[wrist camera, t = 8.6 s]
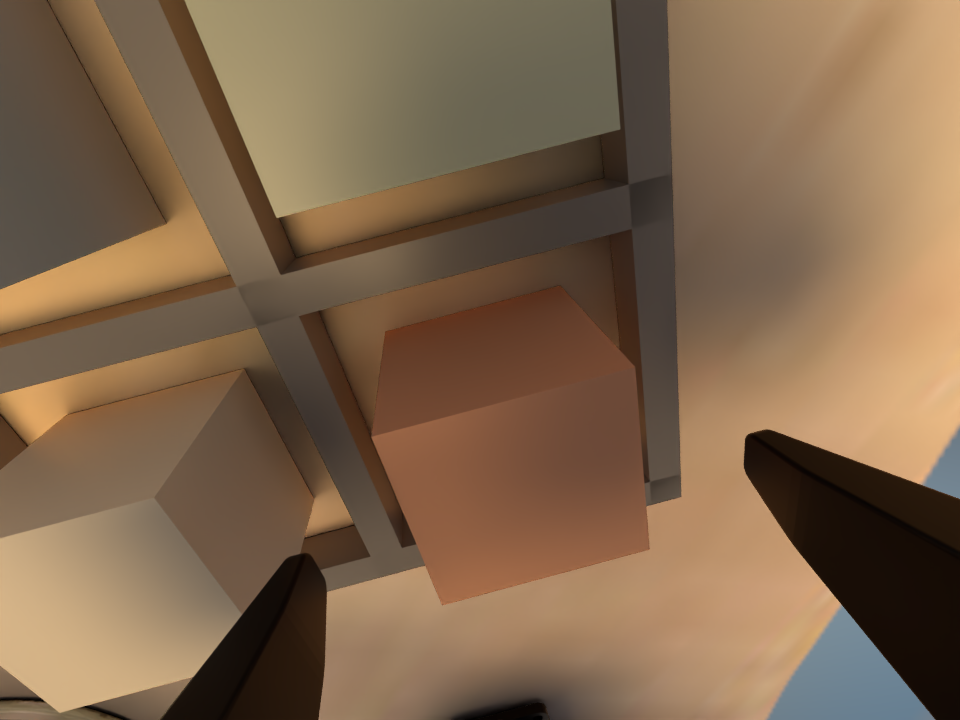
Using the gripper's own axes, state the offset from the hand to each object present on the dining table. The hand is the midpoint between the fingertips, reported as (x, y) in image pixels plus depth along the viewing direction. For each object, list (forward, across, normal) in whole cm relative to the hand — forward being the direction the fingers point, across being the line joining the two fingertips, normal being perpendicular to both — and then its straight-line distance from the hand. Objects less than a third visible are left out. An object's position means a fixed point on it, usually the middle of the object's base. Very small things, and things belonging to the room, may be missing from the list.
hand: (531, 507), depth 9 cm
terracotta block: (+5, 0, 0) cm, 5 cm away
